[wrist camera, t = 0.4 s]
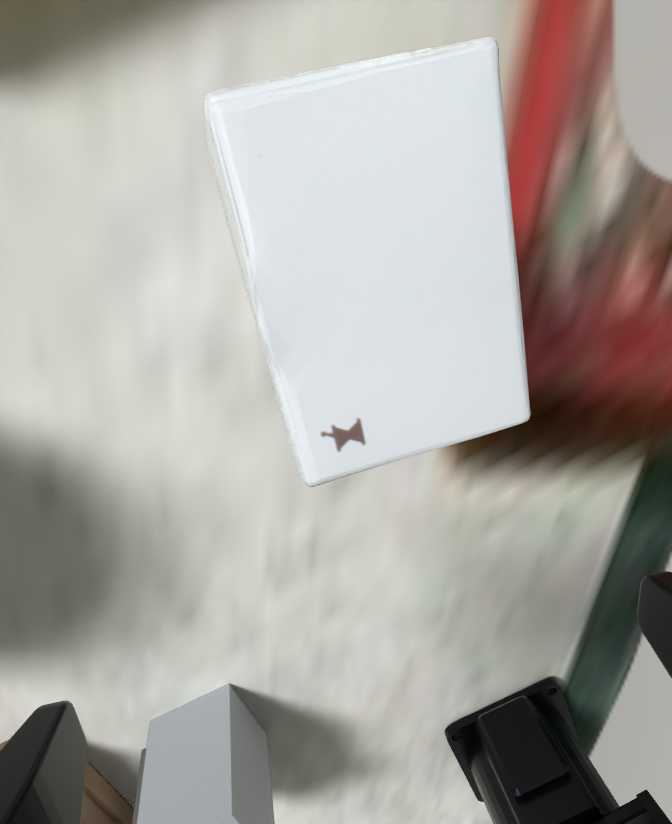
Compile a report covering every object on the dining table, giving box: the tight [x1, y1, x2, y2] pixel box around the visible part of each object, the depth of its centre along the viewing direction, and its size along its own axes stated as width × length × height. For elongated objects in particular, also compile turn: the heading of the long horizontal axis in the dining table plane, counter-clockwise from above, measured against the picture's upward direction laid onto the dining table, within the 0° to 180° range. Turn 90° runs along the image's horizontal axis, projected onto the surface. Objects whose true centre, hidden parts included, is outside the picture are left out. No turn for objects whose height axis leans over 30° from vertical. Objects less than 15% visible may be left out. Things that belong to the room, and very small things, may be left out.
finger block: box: [132, 684, 275, 824], centre depth 25 cm, size 4×4×6 cm
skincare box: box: [204, 37, 531, 487], centre depth 14 cm, size 6×4×12 cm
